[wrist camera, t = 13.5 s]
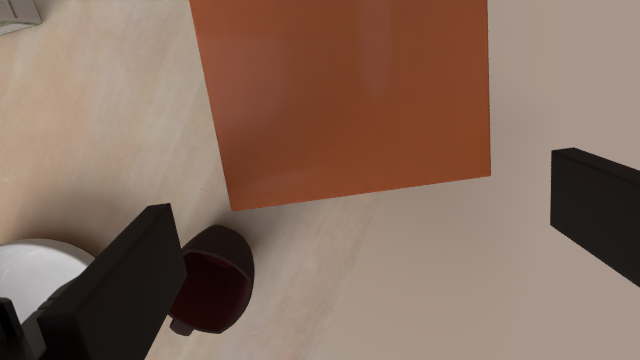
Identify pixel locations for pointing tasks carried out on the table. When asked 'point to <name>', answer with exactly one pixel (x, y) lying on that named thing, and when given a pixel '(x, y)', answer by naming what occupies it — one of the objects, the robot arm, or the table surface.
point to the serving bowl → (37, 271)
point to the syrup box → (17, 15)
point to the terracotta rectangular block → (344, 95)
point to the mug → (213, 282)
